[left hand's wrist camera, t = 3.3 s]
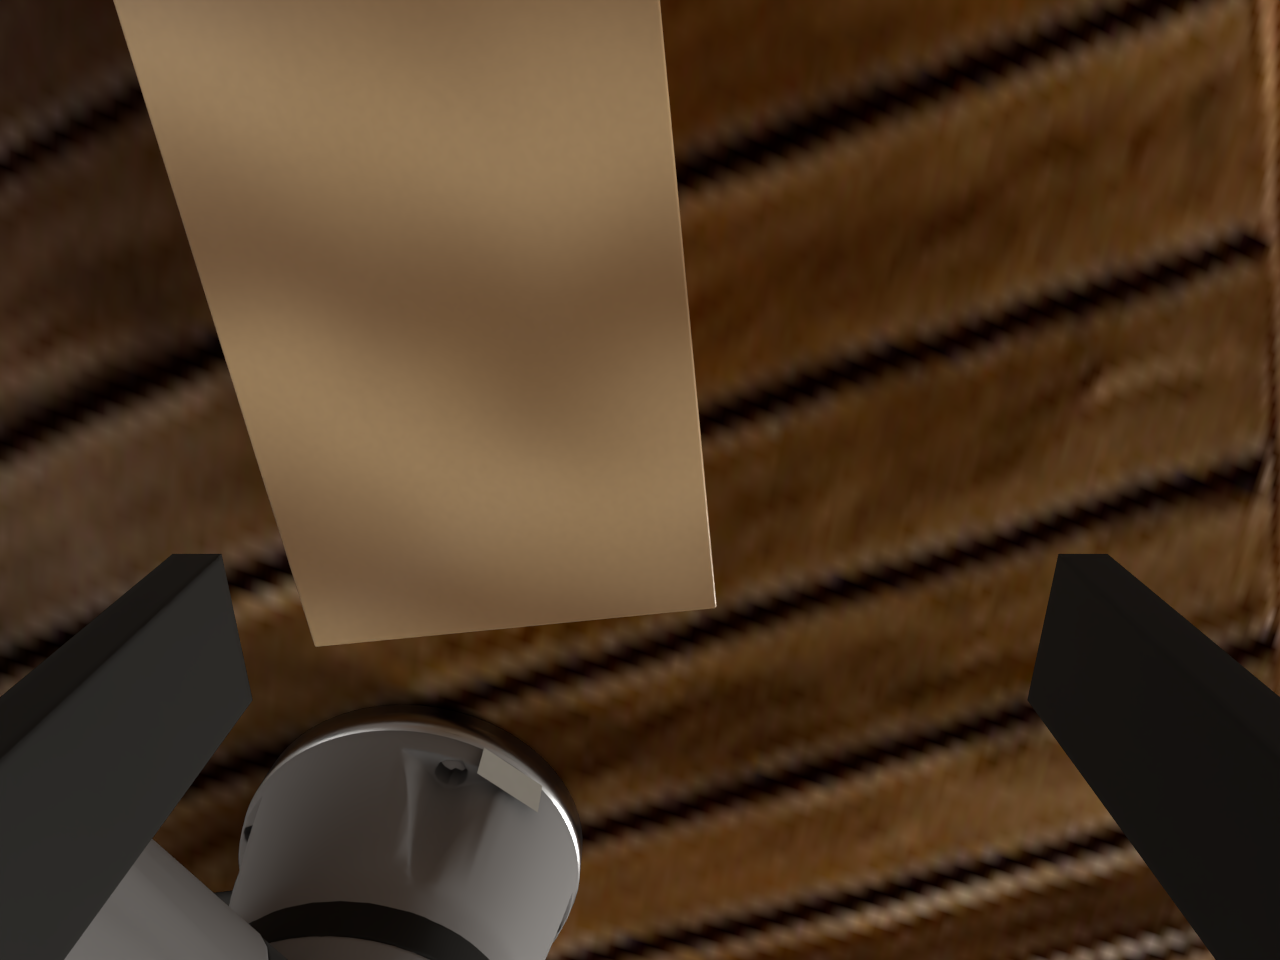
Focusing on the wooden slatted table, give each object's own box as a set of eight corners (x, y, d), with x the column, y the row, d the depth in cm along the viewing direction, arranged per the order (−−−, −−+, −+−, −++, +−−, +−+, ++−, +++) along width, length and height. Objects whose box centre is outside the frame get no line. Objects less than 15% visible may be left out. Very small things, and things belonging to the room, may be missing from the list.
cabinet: (287, -64, 25) (44, -216, 15) (637, -115, 24) (630, -308, 14) (419, 494, 32) (314, 647, 22) (694, 465, 31) (717, 608, 21)
